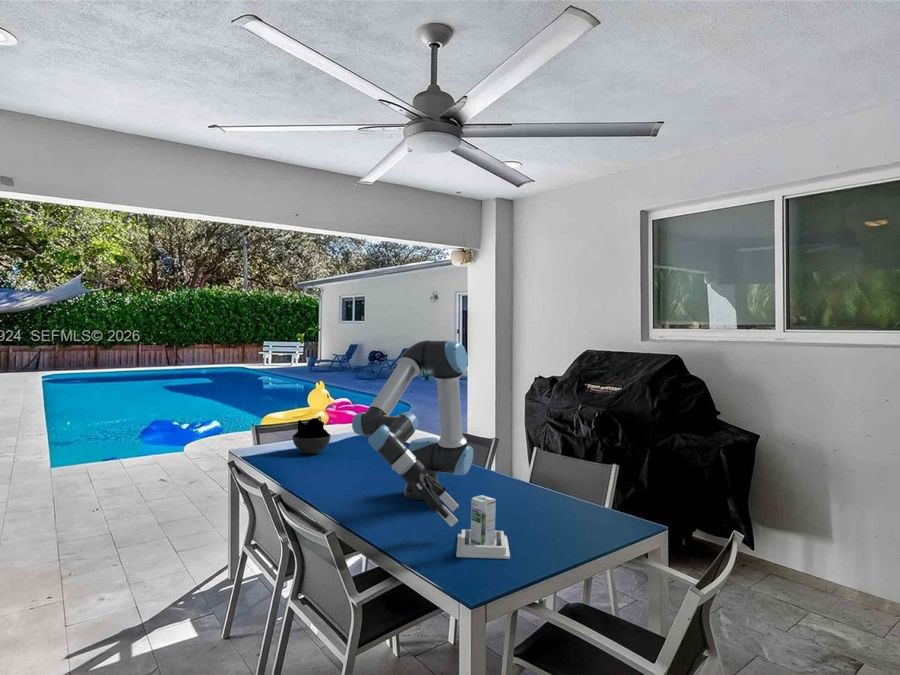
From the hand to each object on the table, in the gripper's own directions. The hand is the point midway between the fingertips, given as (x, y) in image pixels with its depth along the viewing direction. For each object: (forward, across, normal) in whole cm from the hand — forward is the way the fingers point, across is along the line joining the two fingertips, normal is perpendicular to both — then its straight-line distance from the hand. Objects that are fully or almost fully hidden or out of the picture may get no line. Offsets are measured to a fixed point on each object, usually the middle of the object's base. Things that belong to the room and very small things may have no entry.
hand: (455, 516), depth 167 cm
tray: (+13, 0, 0) cm, 13 cm away
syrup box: (+12, 0, 0) cm, 12 cm away
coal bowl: (-50, -118, -64) cm, 143 cm away
